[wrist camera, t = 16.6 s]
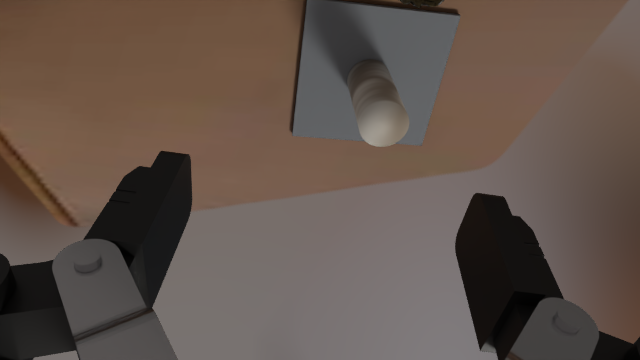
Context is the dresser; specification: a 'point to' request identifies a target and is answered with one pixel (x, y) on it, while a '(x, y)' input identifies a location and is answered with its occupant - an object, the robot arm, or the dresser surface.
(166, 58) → the dresser surface
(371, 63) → the cream peg
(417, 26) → the slate mat
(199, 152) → the dresser surface
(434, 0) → the cup
